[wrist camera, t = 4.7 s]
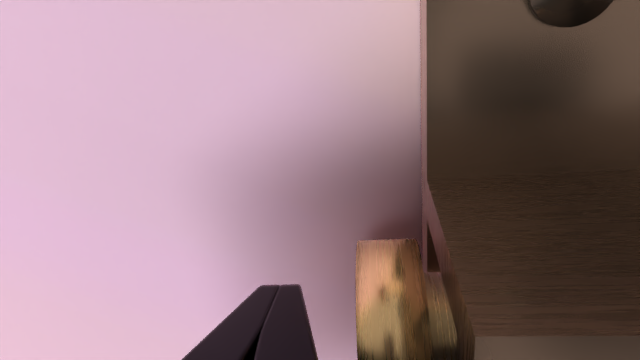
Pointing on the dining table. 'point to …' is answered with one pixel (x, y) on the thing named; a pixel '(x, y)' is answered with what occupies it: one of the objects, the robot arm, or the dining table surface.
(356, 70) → the dining table surface
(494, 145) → the hinge
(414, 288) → the pin
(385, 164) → the dining table surface
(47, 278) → the dining table surface
